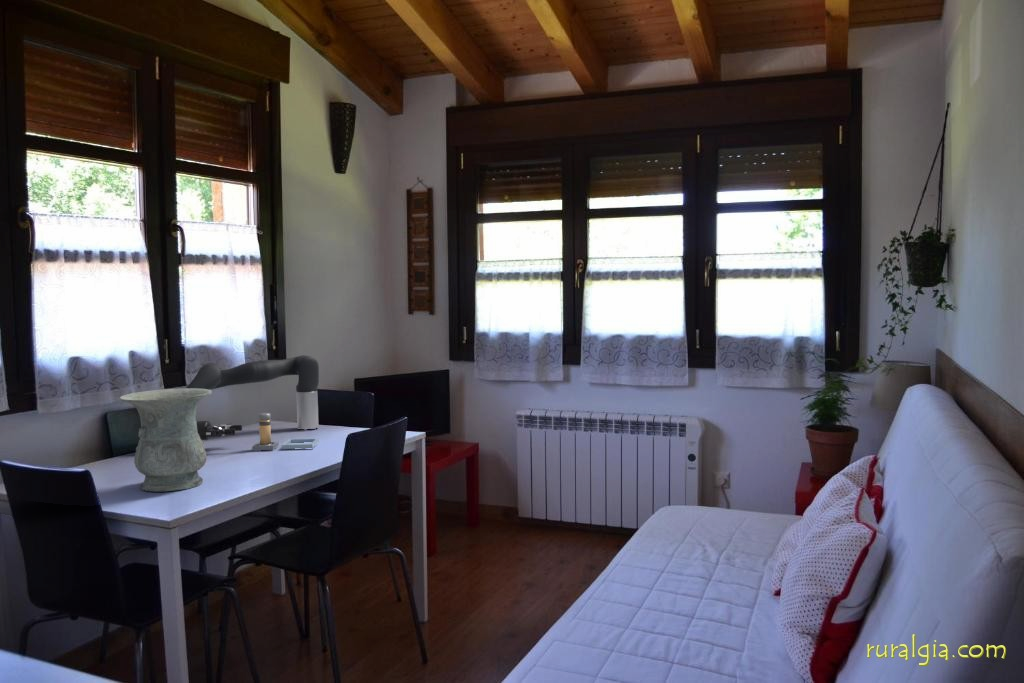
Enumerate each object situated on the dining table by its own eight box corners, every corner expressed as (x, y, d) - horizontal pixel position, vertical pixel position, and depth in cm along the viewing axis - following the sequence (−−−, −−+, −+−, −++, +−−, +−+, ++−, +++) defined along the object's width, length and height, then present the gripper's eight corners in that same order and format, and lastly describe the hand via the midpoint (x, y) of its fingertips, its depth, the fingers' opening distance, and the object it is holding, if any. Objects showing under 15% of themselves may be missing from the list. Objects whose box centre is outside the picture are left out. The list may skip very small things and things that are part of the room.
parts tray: (289, 444, 309) (289, 439, 309) (319, 443, 310) (318, 438, 310) (281, 450, 297) (281, 445, 297) (312, 449, 298) (312, 444, 298)
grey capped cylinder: (261, 447, 302) (260, 413, 301) (273, 447, 302) (271, 412, 301) (258, 450, 298) (256, 415, 297) (270, 450, 298) (268, 414, 297)
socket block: (258, 447, 304) (258, 442, 304) (278, 446, 304) (278, 441, 304) (252, 451, 296) (252, 446, 296) (273, 450, 296) (273, 445, 296)
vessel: (112, 486, 245) (107, 393, 243) (195, 471, 264) (191, 385, 262) (142, 501, 226) (137, 401, 224) (229, 484, 244) (225, 392, 242)
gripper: (189, 424, 291) (232, 423, 292) (202, 418, 305) (243, 417, 306) (190, 443, 292) (233, 442, 292) (203, 436, 306) (244, 435, 306)
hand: (238, 429), depth 299 cm, fingers open, 8 cm apart
